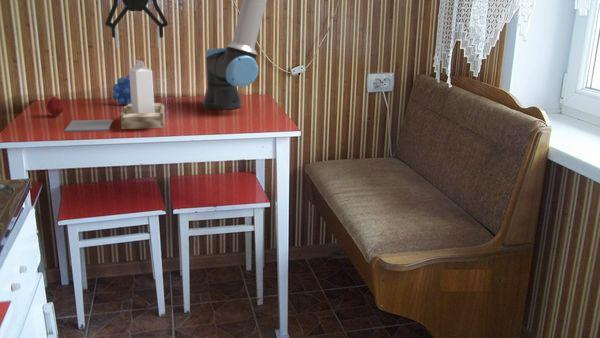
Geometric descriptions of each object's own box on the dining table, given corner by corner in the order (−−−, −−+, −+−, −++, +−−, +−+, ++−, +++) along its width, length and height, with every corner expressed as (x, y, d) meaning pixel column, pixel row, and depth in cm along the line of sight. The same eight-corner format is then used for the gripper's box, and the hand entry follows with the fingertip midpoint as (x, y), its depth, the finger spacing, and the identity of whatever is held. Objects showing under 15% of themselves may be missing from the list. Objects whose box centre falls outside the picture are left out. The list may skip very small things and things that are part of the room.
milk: (139, 126, 210) (134, 62, 203) (132, 123, 214) (127, 60, 207) (155, 124, 213) (151, 61, 206) (148, 120, 218) (144, 58, 211)
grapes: (144, 103, 247) (142, 73, 243) (142, 106, 241) (140, 76, 237) (115, 103, 245) (112, 73, 242) (112, 106, 239) (109, 76, 235)
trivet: (113, 121, 216) (113, 119, 216) (108, 130, 203) (108, 129, 203) (72, 122, 214) (71, 120, 214) (64, 132, 201) (64, 130, 201)
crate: (165, 116, 225) (164, 102, 223) (163, 130, 204) (162, 116, 203) (126, 117, 223) (125, 103, 221) (120, 131, 202) (119, 117, 200)
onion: (68, 116, 222) (65, 95, 220) (52, 119, 218) (50, 97, 216) (60, 114, 226) (58, 92, 223) (45, 116, 222) (42, 94, 219)
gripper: (173, -18, 205) (176, 46, 211) (96, -19, 200) (101, 46, 207) (172, -18, 198) (175, 48, 204) (93, -19, 193) (98, 49, 200)
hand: (138, 47), depth 205 cm, fingers open, 13 cm apart
